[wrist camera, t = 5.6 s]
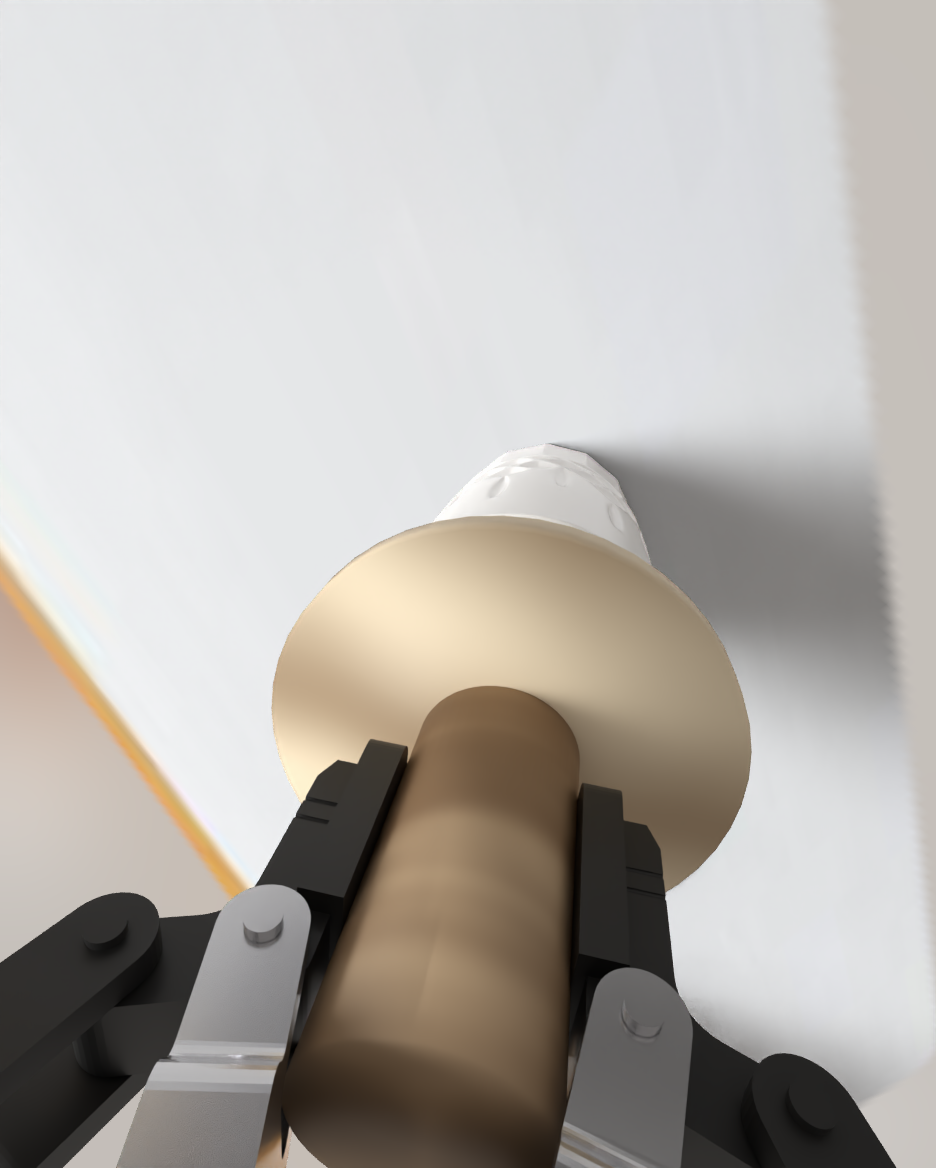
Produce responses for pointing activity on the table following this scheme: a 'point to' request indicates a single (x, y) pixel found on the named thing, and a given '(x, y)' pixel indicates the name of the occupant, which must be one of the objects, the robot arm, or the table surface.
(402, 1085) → the lid
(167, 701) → the table surface
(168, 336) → the table surface
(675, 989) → the robot arm
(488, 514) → the white cup
